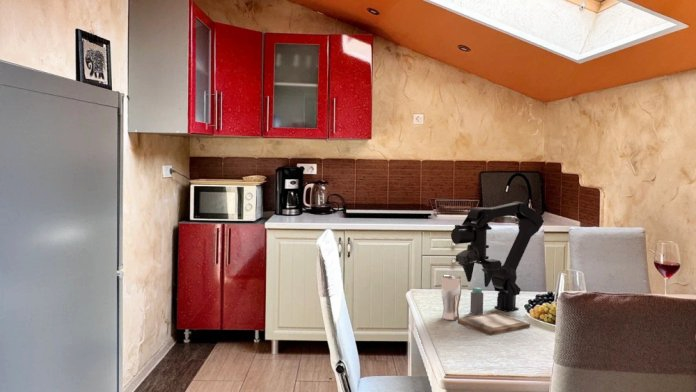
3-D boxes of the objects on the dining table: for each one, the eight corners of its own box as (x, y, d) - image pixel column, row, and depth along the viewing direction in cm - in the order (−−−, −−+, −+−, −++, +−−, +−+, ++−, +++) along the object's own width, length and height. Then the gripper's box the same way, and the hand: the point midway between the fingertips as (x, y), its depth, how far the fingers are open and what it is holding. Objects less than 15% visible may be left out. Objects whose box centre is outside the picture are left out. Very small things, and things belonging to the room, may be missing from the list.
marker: (476, 311, 215) (477, 287, 214) (483, 313, 212) (483, 288, 211) (469, 312, 213) (470, 288, 213) (476, 314, 210) (476, 289, 210)
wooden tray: (496, 315, 209) (496, 309, 209) (529, 327, 195) (530, 320, 195) (457, 322, 201) (457, 316, 200) (490, 335, 187) (490, 328, 186)
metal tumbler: (460, 321, 201) (461, 279, 200) (440, 320, 203) (441, 278, 201) (460, 316, 208) (461, 275, 207) (441, 315, 209) (442, 274, 208)
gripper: (444, 240, 215) (444, 281, 216) (479, 247, 199) (478, 292, 200) (467, 238, 220) (467, 278, 221) (503, 245, 204) (502, 288, 205)
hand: (477, 284), depth 212 cm, fingers open, 9 cm apart
